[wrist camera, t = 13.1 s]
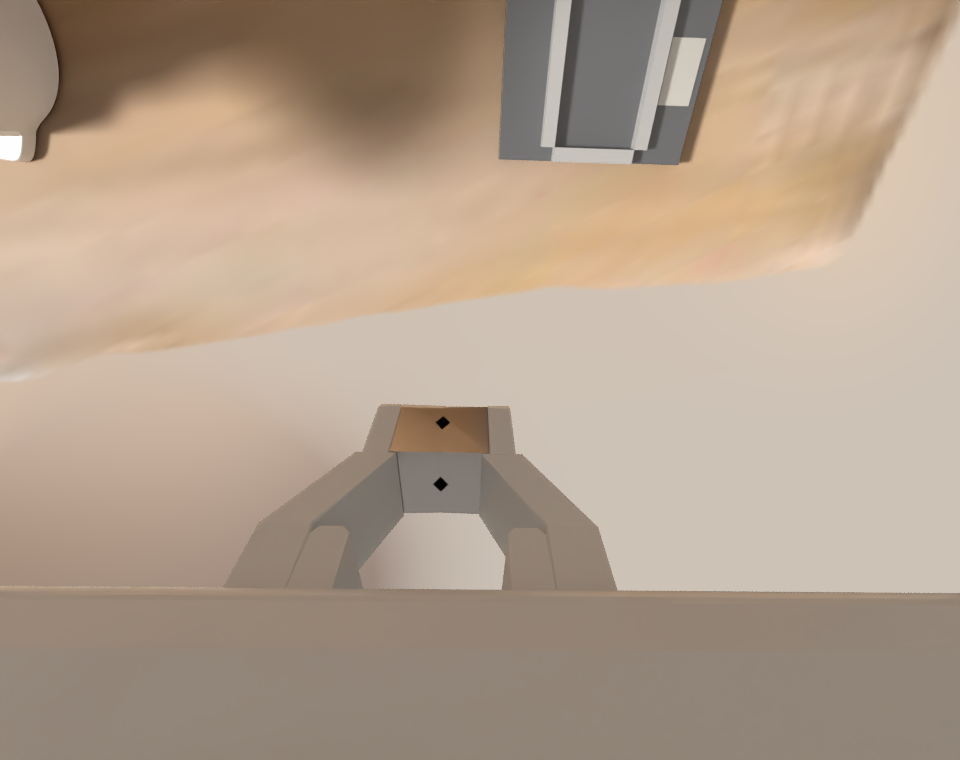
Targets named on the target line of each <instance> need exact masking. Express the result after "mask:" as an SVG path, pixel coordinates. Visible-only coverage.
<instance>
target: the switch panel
mask: <svg viewBox="0 0 960 760" xmlns="http://www.w3.org/2000/svg"><path fill="white" fill-rule="evenodd" d="M722 2H723V0H506V13H505V34H504V55H503V75H502V96H501V117H500V138H499V159H509V160H539V161H552V162H576V163H606V164H661V165H678V164H679V160H680V157H681V153H682V149H683V146H684V142H685V138H686V135H687V131H688V127H689V124H690V120H691V116H692V112H693V109H694V105H695V101H696V98H697V94H698V90H699V87H700V83H701V79H702V76H703V72H704V68H705V65H706V61H707V57H708V53H709V50H710V46H711V42H712V39H713V35H714V31H715V28H716V24H717V20H718V17H719V13H720V9H721V6H722Z"/></svg>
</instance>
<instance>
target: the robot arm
mask: <svg viewBox="0 0 960 760" xmlns="http://www.w3.org/2000/svg"><path fill="white" fill-rule="evenodd" d="M58 84H59V69H58V60H57V55H56V50H55V46H54V42H53V39H52V35H51V32H50V30H49V27H48V24H47V22H46V19H45V17H44V14H43V12H42V10H41V8H40V6H39V4H38V2H37V0H0V159H2V160H7V161H12V162H29V161H31V160H32V159H33V157H34V153H35V146H36V131H37V129H38V127H39V125H40V123H41V122H42V121H43V120H44V119H45V117H46V116H47V115H48V114H49V112H50V111H51V109H52V107H53V105H54V102H55V100H56V96H57V92H58ZM434 512H437V513H438V512H442V513H468V514H469V513H470V514H480V517H481V519H482V520H483V522H484V524H485V525H486V527H487V528H488V530H489V531H490V533H491V535H492V536H493V538H494V539H495V541H496V542H497V544H498V546H499V547H500V548H501V550H502V551H503V553H504V555H505V556H506V558H505V567H504V575H503V585H502V590H443V589H442V590H440V589H438V590H437V589H363V586H362V582H361V578H360V574H359V569H360V568H361V566H362V565H363V564H364V563H365V562H366V560H367V559H368V558H369V557H370V555H371V554H372V553H373V552H374V551H375V549H376V548H377V547H378V546H379V544H380V543H381V542H382V541H383V540H384V538H385V537H386V536H387V535H388V534H389V532H390V531H391V530H392V529H393V528H394V526H395V525H396V524H397V522H398V521H399V520H400V519H401V518H402V517H403V516H404V515H403V513H434ZM0 760H960V593H855V592H851V593H850V592H847V593H846V592H729V591H728V592H727V591H726V592H725V591H617V588H616V585H615V581H614V578H613V575H612V571H611V568H610V565H609V562H608V558H607V555H606V552H605V548H604V545H603V542H602V539H601V535H600V532H599V529H598V527H597V526H596V525H595V524H594V523H593V522H592V521H591V520H590V519H589V518H588V517H587V516H586V515H585V514H584V513H583V512H581V511H580V510H579V509H578V508H577V507H576V506H575V505H574V504H573V503H572V502H571V501H570V500H569V499H568V498H567V497H566V496H565V495H564V494H563V493H562V492H561V491H560V490H559V489H558V488H557V487H555V485H553V484H552V483H551V482H550V481H549V480H548V479H547V478H546V477H545V476H544V475H543V474H542V473H541V472H540V471H539V470H538V469H537V468H536V467H534V465H533V464H532V463H531V462H529V461H528V460H527V459H526V458H525V457H524V456H523V455H522V454H521V455H520V454H516V453H515V445H514V437H513V428H512V421H511V412H510V408H509V407H508V406H488V407H446V406H429V405H401V404H397V405H396V404H382V405H380V406H379V408H378V409H377V412H376V415H375V418H374V421H373V423H372V426H371V429H370V432H369V435H368V437H367V441H366V443H365V446H364V449H363V451H362V452H355V453H353V454H352V455H351V456H349V457H348V458H347V459H345V460H344V461H343V462H341V463H340V464H338V465H337V466H336V467H334V468H333V469H332V470H330V471H329V472H328V473H326V474H325V475H323V476H322V477H321V478H319V479H318V480H317V481H316V482H314V483H313V484H311V485H310V486H308V487H307V488H306V489H305V490H303V491H302V492H300V493H299V494H297V495H296V496H295V497H293V498H292V499H291V500H290V501H288V502H287V503H285V504H284V505H282V506H281V507H280V508H278V509H277V510H276V511H274V512H273V513H272V514H270V515H269V516H267V517H266V518H265V519H263V520H262V521H261V522H259V524H258V525H257V527H256V529H255V531H254V533H253V534H252V536H251V538H250V540H249V542H248V544H247V545H246V547H245V549H244V551H243V552H242V554H241V556H240V558H239V559H238V561H237V563H236V565H235V567H234V568H233V570H232V572H231V574H230V576H229V577H228V579H227V581H226V583H225V585H224V586H223V588H209V587H202V588H201V587H200V588H199V587H82V586H80V587H78V586H75V587H74V586H0Z"/></svg>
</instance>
